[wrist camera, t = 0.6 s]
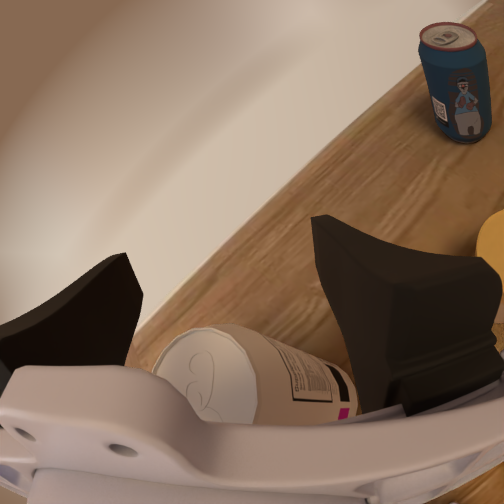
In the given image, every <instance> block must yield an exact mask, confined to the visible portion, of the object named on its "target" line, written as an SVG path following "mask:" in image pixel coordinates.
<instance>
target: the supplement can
mask: <svg viewBox="0 0 504 504" xmlns="http://www.w3.org/2000/svg"><path fill="white" fill-rule="evenodd" d="M152 374H155V375H157V376H159V377H161V378H164V379H166V380H167V381H169V382H170V383H171V384H172V385H173V386H174V387H175V388H176V389H177V390H178V391H179V392H180V393H181V394H183V395H184V396H185V397H186V398H187V399H188V401H189V403H190V404H191V406H192V408H193V409H194V411H195V412H196V414H197V415H198V416H199V418H200V419H202V420H204V421H216V422H227V423H240V424H258V425H317V424H322V423H327V422H332V421H337V420H341V419H346V418H350V417H354V416H356V412H357V408H358V401H357V394H356V388H355V386H354V385H353V383H352V381H351V379H350V378H349V376H348V374H347V373H345V372H344V371H343V370H342V369H340V368H339V367H338V366H337V365H336V364H333V363H331V362H328V361H326V360H323V359H320V358H318V357H315V356H313V355H310V354H308V353H306V352H303V351H301V350H298V349H296V348H293V347H291V346H289V345H286V344H284V343H281V342H279V341H277V340H274V339H272V338H270V337H267V336H265V335H263V334H261V333H258V332H256V331H254V330H251V329H248V328H245V327H242V326H239V325H237V324H234V323H229V324H215V325H210V326H207V327H204V328H193V329H190V330H188V331H186V332H184V333H182V334H180V335H178V336H176V337H175V338H174V339H173V340H172V341H171V342H170V343H169V344H168V345H167V346H166V347H165V348H164V349H163V350H162V352H161V354H160V356H159V358H158V359H157V361H156V363H155V365H154V367H153V369H152Z"/></svg>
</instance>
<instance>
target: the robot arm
mask: <svg viewBox="0 0 504 504" xmlns="http://www.w3.org/2000/svg"><path fill="white" fill-rule="evenodd" d="M311 225H312V234H313V243H314V253H315V263H316V268H317V271H318V275H319V278H320V282H321V285H322V288H323V290H324V292H325V295H326V297H327V299H328V302H329V304H330V306H331V308H332V311H333V313H334V315H335V318H336V320H337V322H338V325H339V327H340V329H341V332H342V335H343V337H344V341H345V344H346V348H347V351H348V355H349V359H350V362H351V366H352V370H353V374H354V378H355V382H356V387H357V391H358V396H359V400H360V405H361V410H362V415H358V416H354V417H350V418H346V419H341V420H337V421H332V422H327V423H322V424H317V425H258V424H240V423H227V422H216V421H204V420H202V419H200V418H199V416H198V415H197V414H196V412H195V411H194V409H193V408H192V406H191V404H190V403H189V401H188V399H187V398H186V397H185V396H184V395H183V394H181V393H180V392H179V391H178V390H177V389H176V388H175V387H174V386H173V385H172V384H171V383H170V382H169V381H167V380H166V379H164V378H161V377H159V376H157V375H155V374H152V373H150V372H148V371H146V370H143V369H141V368H133V367H126V366H124V364H125V360H126V357H127V354H128V350H129V347H130V344H131V341H132V338H133V335H134V332H135V329H136V326H137V323H138V319H139V316H140V312H141V307H142V300H143V292H142V290H141V287H140V285H139V283H138V280H137V278H136V276H135V274H134V271H133V269H132V266H131V264H130V262H129V259H128V257H127V254H126V253H120V254H115V255H112V256H110V257H108V258H106V259H105V260H103V261H102V262H100V263H99V264H97V265H96V266H94V267H93V268H92V269H90V270H89V271H88V272H87V273H85V274H84V275H83V276H81V277H80V278H78V279H77V280H76V281H74V282H73V283H72V284H70V285H69V286H68V287H66V288H65V289H64V290H62V291H61V292H60V293H58V294H57V295H55V296H54V297H52V298H51V299H49V300H48V301H46V302H44V303H43V304H41V305H40V306H38V307H36V308H34V309H33V310H31V311H29V312H27V313H25V314H23V315H22V316H20V317H18V318H16V319H14V320H12V321H9V322H7V323H5V324H2V325H0V485H1V486H3V487H5V488H7V489H9V490H11V491H13V492H15V493H17V494H19V495H22V496H24V497H26V498H28V500H27V504H423V503H426V502H428V501H430V500H432V499H435V498H437V497H439V496H441V495H443V494H445V493H447V492H449V491H451V490H453V489H455V488H457V487H459V486H461V485H463V484H465V483H467V482H469V481H471V480H472V479H474V478H476V477H478V476H480V475H481V474H483V473H485V472H486V471H488V470H490V469H492V468H493V467H495V466H497V465H498V464H500V463H501V462H503V461H504V349H503V350H502V351H501V352H500V354H499V352H498V351H497V350H496V348H495V347H494V345H495V344H496V342H497V338H496V336H495V335H494V334H493V332H492V331H491V328H492V326H493V323H494V320H495V317H496V315H497V312H498V309H499V306H500V302H501V298H502V293H503V287H502V280H501V278H500V275H499V274H498V273H497V272H496V271H495V270H494V269H493V268H492V267H491V266H490V265H489V264H488V263H487V262H486V261H485V260H484V259H483V258H482V257H471V256H450V255H441V254H434V253H427V252H422V251H417V250H413V249H408V248H405V247H401V246H397V245H394V244H391V243H388V242H385V241H382V240H380V239H377V238H375V237H373V236H370V235H368V234H366V233H363V232H361V231H359V230H357V229H355V228H353V227H351V226H349V225H347V224H345V223H343V222H341V221H340V220H338V219H336V218H334V217H332V216H330V215H321V216H315V217H311ZM450 504H458V503H457V502H451V503H450Z"/></svg>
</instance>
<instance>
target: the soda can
mask: <svg viewBox="0 0 504 504" xmlns="http://www.w3.org/2000/svg"><path fill="white" fill-rule="evenodd" d="M419 36H420V44H419V49H418V52H419V56H420V59H421V62H422V66H423V70H424V73H425V77H426V81H427V85H428V89H429V93H430V97H431V101H432V106H433V110H434V115H435V120H436V123H437V125H438V126H439V128H440V129H441V130H442V131H443V132H444V133H445V134H446V135H447V136H448V137H450V138H451V139H453V140H455V141H458V142H462V143H473V142H476V141H478V140H480V139H482V138H483V137H484V136H485V134H486V133H487V132H488V131H489V129H490V127H491V124H492V115H491V97H490V85H489V76H488V67H487V60H486V53H485V49H484V47H483V46H482V44H481V43H480V42H479V40H478V39H477V35H476V33H475V32H474V31H473V30H472V29H471V28H469V27H467V26H465V25H462V24H459V23H452V22H441V23H435V24H431V25H429V26H427V27H425V28H423V29H422V30H421V32H420V35H419Z"/></svg>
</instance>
